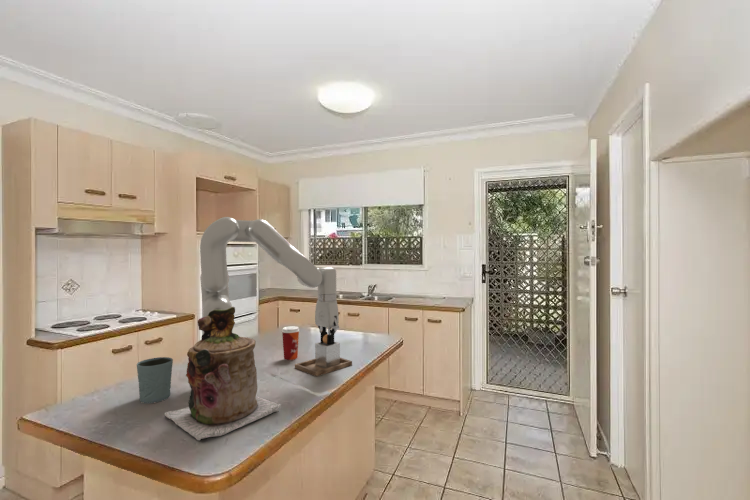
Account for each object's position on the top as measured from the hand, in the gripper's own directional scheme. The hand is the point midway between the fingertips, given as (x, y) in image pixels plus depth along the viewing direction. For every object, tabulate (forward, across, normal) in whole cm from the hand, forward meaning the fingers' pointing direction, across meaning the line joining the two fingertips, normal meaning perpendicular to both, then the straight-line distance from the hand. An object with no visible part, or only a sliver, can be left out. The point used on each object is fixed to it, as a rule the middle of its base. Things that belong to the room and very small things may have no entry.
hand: (327, 342), depth 149 cm
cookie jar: (+11, +10, -47) cm, 49 cm away
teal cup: (+11, -19, -57) cm, 61 cm away
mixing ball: (0, 0, 0) cm, 0 cm away
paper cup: (+10, -20, -4) cm, 23 cm away
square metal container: (+9, 0, 0) cm, 9 cm away
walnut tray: (+10, 0, -2) cm, 10 cm away
